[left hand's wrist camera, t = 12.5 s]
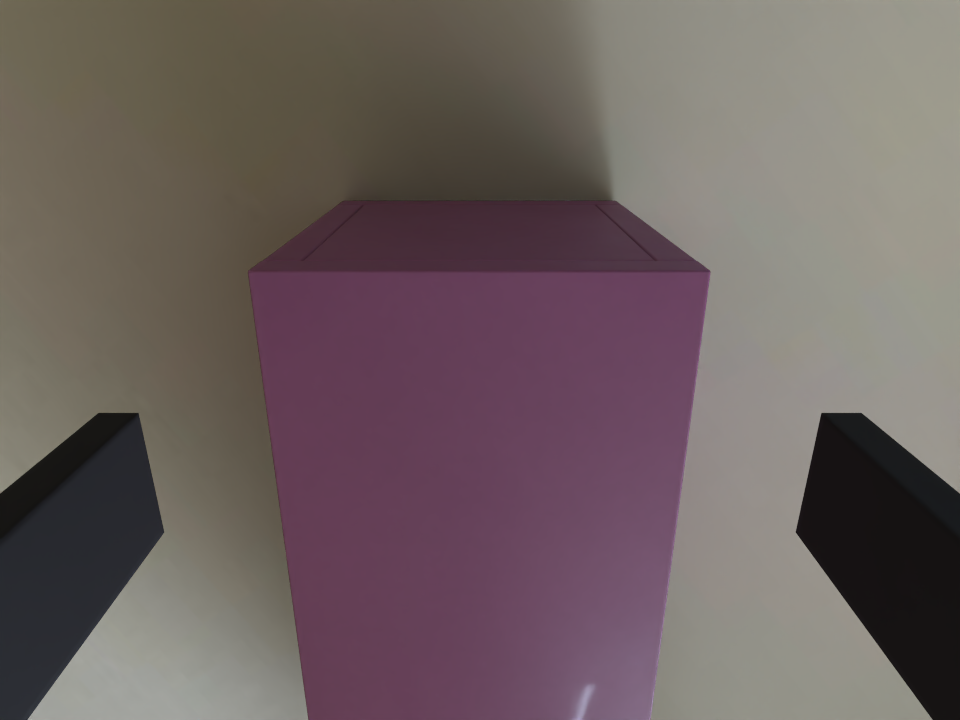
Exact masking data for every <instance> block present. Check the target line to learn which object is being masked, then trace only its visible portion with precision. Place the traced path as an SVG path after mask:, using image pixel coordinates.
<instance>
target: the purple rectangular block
mask: <svg viewBox="0 0 960 720" xmlns="http://www.w3.org/2000/svg"><path fill="white" fill-rule="evenodd" d="M248 277H249V284H250V291H251V299H252V306H253V314H254V321H255V328H256V336H257V343H258V351H259V358H260V365H261V373H262V380H263V387H264V395H265V402H266V410H267V417H268V424H269V432H270V439H271V447H272V454H273V461H274V469H275V476H276V484H277V491H278V498H279V506H280V513H281V521H282V528H283V535H284V543H285V550H286V557H287V565H288V572H289V580H290V587H291V594H292V602H293V609H294V617H295V624H296V631H297V639H298V646H299V654H300V661H301V668H302V676H303V683H304V691H305V698H306V705H307V713H308V720H650V719H651V712H652V704H653V697H654V690H655V682H656V675H657V667H658V660H659V652H660V645H661V637H662V630H663V622H664V615H665V607H666V600H667V592H668V585H669V578H670V570H671V563H672V555H673V548H674V540H675V533H676V525H677V518H678V510H679V503H680V495H681V488H682V481H683V473H684V466H685V458H686V451H687V443H688V436H689V428H690V421H691V413H692V406H693V398H694V391H695V384H696V376H697V369H698V361H699V354H700V346H701V339H702V331H703V324H704V316H705V309H706V301H707V294H708V286H709V279H710V270H708V269H707V268H706V267H704V266H703V265H702V264H700V263H699V262H698V261H696V260H694V259H693V258H692V257H690V256H689V255H688V254H686V253H685V252H684V251H682V250H681V249H680V248H678V247H677V246H676V245H674V244H673V243H672V242H670V241H669V240H668V239H666V238H665V237H664V236H662V235H661V234H660V233H658V232H657V231H656V230H654V229H653V228H652V227H650V226H649V225H648V224H646V223H645V222H644V221H642V220H641V219H640V218H638V217H637V216H636V215H634V214H633V213H632V212H630V211H629V210H628V209H626V208H625V207H624V206H622V205H621V204H619V203H618V202H617V201H342V202H341V203H340V204H338V205H337V206H336V207H334V208H333V209H332V210H330V211H329V212H328V213H326V214H325V215H324V216H322V217H321V218H320V219H318V220H317V221H315V222H314V223H313V224H311V225H310V226H309V227H307V228H306V229H305V230H303V231H302V232H301V233H299V234H298V235H297V236H295V237H294V238H293V239H291V240H290V241H289V242H287V243H286V244H285V245H283V246H282V247H280V248H279V249H278V250H276V251H275V252H274V253H272V254H271V255H270V256H268V257H267V258H266V259H264V260H263V261H261V262H259V263H258V264H257V265H255V266H254V267H253V268H251V269H250V270H249V271H248Z"/></svg>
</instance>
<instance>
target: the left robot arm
mask: <svg viewBox="0 0 960 720" xmlns="http://www.w3.org/2000/svg"><path fill="white" fill-rule="evenodd" d="M163 533H164V529H163V525H162V520H161V515H160V511H159V506H158V501H157V497H156V492H155V488H154V483H153V478H152V474H151V469H150V464H149V460H148V455H147V450H146V446H145V441H144V437H143V432H142V427H141V423H140V418H139V413H98V414H97V415H96V416H94V417H93V418H92V419H91V420H90V421H88V422H87V423H86V424H85V425H83V426H82V427H81V428H80V429H79V430H77V431H76V432H75V433H74V434H72V435H71V436H70V437H69V438H68V439H66V440H65V441H64V442H63V443H61V444H60V445H59V446H58V447H57V448H55V449H54V450H53V451H52V452H51V453H49V454H48V455H47V456H46V457H44V458H43V459H42V460H41V461H40V462H38V463H37V464H36V465H35V466H33V467H32V468H31V469H30V470H29V471H27V472H26V473H25V474H24V475H22V476H21V477H20V478H19V479H18V480H16V481H15V482H14V483H13V484H12V485H10V486H9V487H8V488H7V489H5V490H4V491H3V492H2V493H1V494H0V720H27V719H28V718H29V717H30V715H31V714H32V713H33V711H34V710H35V708H36V707H37V706H38V704H39V703H40V702H41V700H42V699H43V697H44V696H45V695H46V693H47V692H48V691H49V689H50V688H51V687H52V685H53V684H54V682H55V681H56V680H57V678H58V677H59V676H60V674H61V673H62V671H63V670H64V669H65V667H66V666H67V665H68V663H69V662H70V661H71V659H72V658H73V656H74V655H75V654H76V652H77V651H78V650H79V648H80V647H81V645H82V644H83V643H84V641H85V640H86V639H87V637H88V636H89V635H90V633H91V632H92V630H93V629H94V628H95V626H96V625H97V624H98V622H99V621H100V619H101V618H102V617H103V615H104V614H105V613H106V611H107V610H108V609H109V607H110V606H111V604H112V603H113V602H114V600H115V599H116V598H117V596H118V595H119V593H120V592H121V591H122V589H123V588H124V587H125V585H126V584H127V583H128V581H129V580H130V578H131V577H132V576H133V574H134V573H135V572H136V570H137V569H138V567H139V566H140V565H141V563H142V562H143V561H144V559H145V558H146V557H147V555H148V554H149V552H150V551H151V550H152V548H153V547H154V546H155V544H156V543H157V541H158V540H159V539H160V537H161V536H162V535H163ZM796 533H797V535H798V536H799V537H800V539H801V540H802V541H803V543H804V544H805V546H806V547H807V548H808V550H809V551H810V552H811V554H812V555H813V557H814V558H815V559H816V561H817V562H818V563H819V565H820V566H821V567H822V569H823V570H824V572H825V573H826V574H827V576H828V577H829V578H830V580H831V581H832V583H833V584H834V585H835V587H836V588H837V589H838V591H839V592H840V593H841V595H842V596H843V598H844V599H845V600H846V602H847V603H848V604H849V606H850V607H851V609H852V610H853V611H854V613H855V614H856V615H857V617H858V618H859V619H860V621H861V622H862V624H863V625H864V626H865V628H866V629H867V630H868V632H869V633H870V635H871V636H872V637H873V639H874V640H875V641H876V643H877V644H878V645H879V647H880V648H881V650H882V651H883V652H884V654H885V655H886V656H887V658H888V659H889V661H890V662H891V663H892V665H893V666H894V667H895V669H896V670H897V671H898V673H899V674H900V676H901V677H902V678H903V680H904V681H905V682H906V684H907V685H908V687H909V688H910V689H911V691H912V692H913V693H914V695H915V696H916V697H917V699H918V700H919V702H920V703H921V704H922V706H923V707H924V708H925V710H926V711H927V713H928V714H929V715H930V717H931V718H932V719H933V720H960V494H959V493H958V492H957V491H956V490H955V489H953V488H952V487H951V486H950V485H948V484H947V483H946V482H945V481H944V480H942V479H941V478H940V477H939V476H938V475H936V474H935V473H934V472H933V471H931V470H930V469H929V468H928V467H927V466H925V465H924V464H923V463H922V462H920V461H919V460H918V459H917V458H916V457H914V456H913V455H912V454H911V453H909V452H908V451H907V450H906V449H905V448H903V447H902V446H901V445H900V444H899V443H897V442H896V441H895V440H894V439H892V438H891V437H890V436H889V435H888V434H886V433H885V432H884V431H883V430H881V429H880V428H879V427H878V426H877V425H875V424H874V423H873V422H872V421H870V420H869V419H868V418H867V417H866V416H864V415H863V414H862V413H821V418H820V423H819V427H818V432H817V437H816V441H815V446H814V450H813V455H812V460H811V464H810V469H809V474H808V478H807V483H806V487H805V492H804V497H803V501H802V506H801V511H800V515H799V520H798V525H797V529H796Z"/></svg>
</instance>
